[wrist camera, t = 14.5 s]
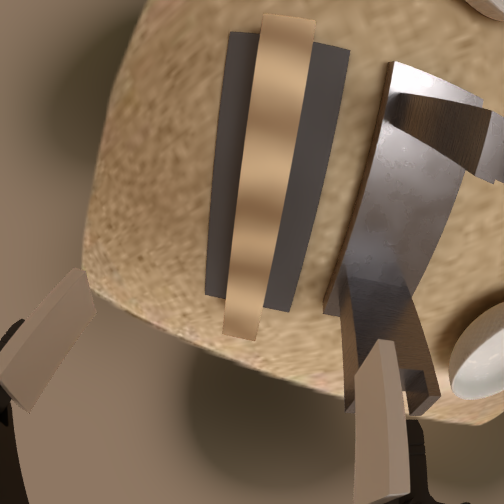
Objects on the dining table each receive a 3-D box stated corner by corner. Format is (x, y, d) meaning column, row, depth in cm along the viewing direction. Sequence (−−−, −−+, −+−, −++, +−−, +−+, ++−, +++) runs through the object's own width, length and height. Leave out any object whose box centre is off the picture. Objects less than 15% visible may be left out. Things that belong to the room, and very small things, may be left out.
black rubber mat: (231, 32, 21) (230, 31, 20) (349, 51, 20) (350, 50, 20) (206, 291, 36) (204, 294, 35) (289, 308, 35) (289, 312, 35)
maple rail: (270, 24, 19) (263, 13, 16) (314, 31, 19) (316, 20, 15) (231, 306, 36) (222, 334, 32) (261, 313, 35) (255, 341, 32)
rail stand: (388, 62, 20) (483, 47, 7) (473, 97, 19) (591, 134, 6) (322, 301, 34) (321, 424, 21) (392, 314, 33) (415, 428, 20)
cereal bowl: (508, 259, 26) (535, 295, 21) (543, 310, 29) (562, 341, 23) (418, 345, 35) (429, 386, 29) (470, 375, 38) (480, 409, 32)
